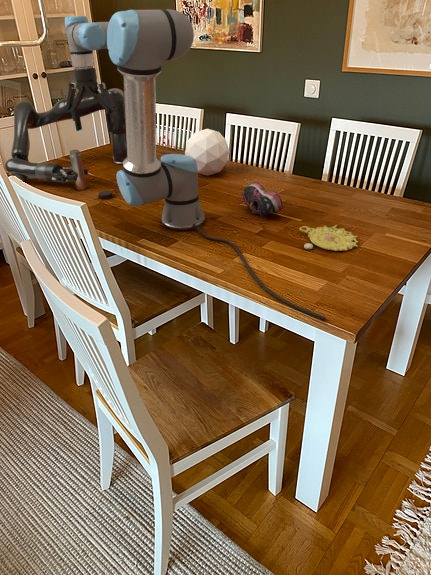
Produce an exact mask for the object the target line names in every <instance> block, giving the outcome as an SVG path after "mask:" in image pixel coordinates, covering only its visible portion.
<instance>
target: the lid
mask: <svg viewBox="0 0 431 575" xmlns="http://www.w3.org/2000/svg"><path fill="white" fill-rule="evenodd" d="M98 198H99V199H100V200H110V199H112V198H113V192H112V191H111V190H102V191H100V192H98Z"/></svg>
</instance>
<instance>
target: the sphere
mask: <svg viewBox="0 0 431 575" xmlns="http://www.w3.org/2000/svg"><path fill="white" fill-rule="evenodd" d="M230 153H231V151H230V148H229V145H228V142H227V139H226V138H225V137H224V136H223V135H222V133H221V132H220V131H217V130H214V129H210V128H205V129H202V130H201V129H200V130H199V131H195V132H194V133H193V134H192V135H191V136H190V137H189V139H188V140H187V143H186V146H185V151H184V155H186V156H190V157H192V158H194V159H195V160H196V163H197V170H198V174H199V175H204V176H207V177H209V176H212V175H215V174H218V173H220V172H221V171H222V170H223V169H224V167H225V166H226V165H227V162H228V159H229V156H230Z"/></svg>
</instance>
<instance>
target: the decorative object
mask: <svg viewBox="0 0 431 575" xmlns="http://www.w3.org/2000/svg"><path fill="white" fill-rule="evenodd" d="M303 228H304V229H305V230H304V229H303ZM299 231H300V232H303V233H305V234H307V237H308V238H309V240H310V241H311V243H304V244H303V248H304V249H305V250H313V249H314V245H315V246H316V247H318V248H321V249H324V250H328V251H335V252H341V251H348V250H352V249H354V247H356V248H358V247H359V245H358V244H357V243H359V240H357V238H359V237H358V235H353V234H352V231H347V230H346V229H345V228H344V227H342V228H338V224H335V225H333V226H331V227H328V226H327V225H326V224H325V225H323V226H322V227H321V226H317V227H316V228H314V227H309V226H308V225H302V226H300V227H299ZM313 244H314V245H313Z"/></svg>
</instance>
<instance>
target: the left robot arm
mask: <svg viewBox="0 0 431 575" xmlns="http://www.w3.org/2000/svg"><path fill="white" fill-rule="evenodd" d="M107 90H108V92H109V94H110V96H111V98H112V99H113V101H114V103H115V105H116V107H117V111H114V112H113V117H114V122H113V129H114V131H113V132H110V133H109V137H110V144H111V150H112V159H113V163H114V164H115V165H123V161H124V160H125V159H126V158H127V138H126V117H125V97H124V90H122V89H120V88H116V87H115V88H109V89H107ZM100 93H101V92H100ZM101 96H102V97H103V95H102V93H101ZM76 97H77V95H75V97H74V101H75V99H76ZM67 98H68V97H65V98H62V99H60V100H58V101H57V102H56V103H54V105H53V106H52V108H50V109H49V110H47V111H43V112H38V111H37V110H36V109H35V107H34V105H33V104H32V102H29V101H26V100H24V101H20V102H18V103H17V104H16V105H15V107H14V108H13V109H14V110H13V122H14V123H13V130H14V131H13V141H12V146H11V151H10V152H11V153H10V154H11V158H9V159H7V160H6V161H5V163H4V168H5V170H6V171H7V173H8V174H9V175H10V176H11V177H13V176H16V177H18V178H19V179H21V180H22V181H21V182H24V181H26V180H27V179H30V180H35V181H36V180H37V181H38V180H39V181H43V182H52V183H66V182H69V181H70V182H75V181H77V176H76V175H73V171H72V166H71V165H68V166H67V167H62V165H61V164H60V163H49V162H31V161H29V156H30V149H31V142H30V135H29V130H34V129H38V128H41V127H45V126H49V125H50V124H55V123H59V122H63V121H64V122H65V121H70V120H73V119H72V113H71V111H69V110H66V103H67ZM103 98H104V97H103ZM104 99H105V98H104ZM105 101H106V100H105ZM73 103H74V102H73ZM77 111H79V115H80V118H82V117H83V118H84V117H86V116H89V115H91V114H93V113H96V112H99V111H105V109H104V108H103V107H102V106H101V105H100V103H99V102H98V101H97V100H96V99H95V98H94V97H88V96H87V97H83V99H82V101H81V103H80V105H79V106H78V108H77ZM106 113H107V112H106V111H105V114H106ZM83 169H84V174H85V176H87V175H88V174H89V171H88V170H89V169H87V168H83Z"/></svg>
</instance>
